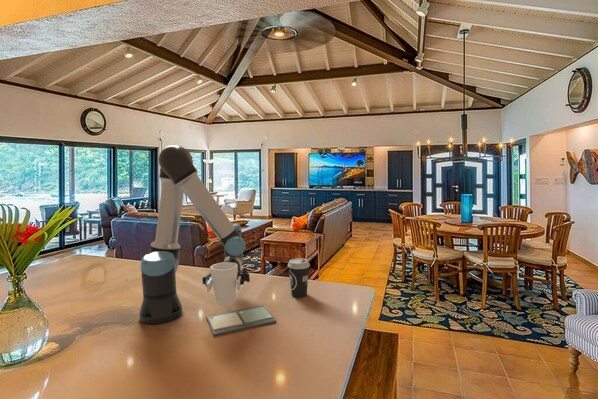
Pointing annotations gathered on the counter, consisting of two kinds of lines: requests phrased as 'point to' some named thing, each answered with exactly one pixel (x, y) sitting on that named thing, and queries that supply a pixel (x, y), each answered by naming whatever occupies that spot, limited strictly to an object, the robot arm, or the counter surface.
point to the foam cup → (224, 282)
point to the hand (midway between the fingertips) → (223, 287)
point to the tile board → (239, 320)
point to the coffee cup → (298, 276)
